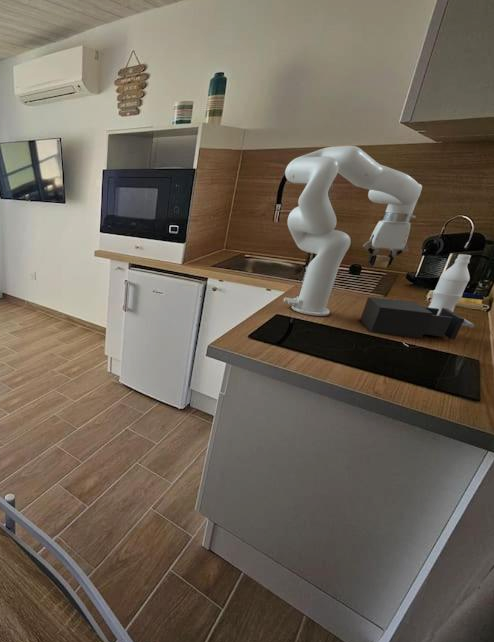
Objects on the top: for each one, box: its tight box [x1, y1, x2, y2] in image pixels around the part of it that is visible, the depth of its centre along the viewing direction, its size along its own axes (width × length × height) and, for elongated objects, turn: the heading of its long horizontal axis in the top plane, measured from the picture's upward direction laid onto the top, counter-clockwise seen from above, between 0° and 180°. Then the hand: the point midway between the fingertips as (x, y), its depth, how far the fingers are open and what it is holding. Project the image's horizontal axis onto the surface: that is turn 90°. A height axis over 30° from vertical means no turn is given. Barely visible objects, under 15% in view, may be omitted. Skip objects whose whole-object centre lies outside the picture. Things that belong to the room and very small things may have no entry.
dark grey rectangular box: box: [359, 296, 433, 339], centre depth 129 cm, size 14×12×9 cm
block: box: [373, 254, 390, 269], centre depth 146 cm, size 4×4×4 cm
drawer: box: [423, 306, 475, 340], centre depth 125 cm, size 17×11×7 cm, turn 66°
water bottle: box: [428, 253, 472, 315], centre depth 132 cm, size 7×7×25 cm
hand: (378, 265), depth 146 cm, fingers closed on block, 4 cm apart
